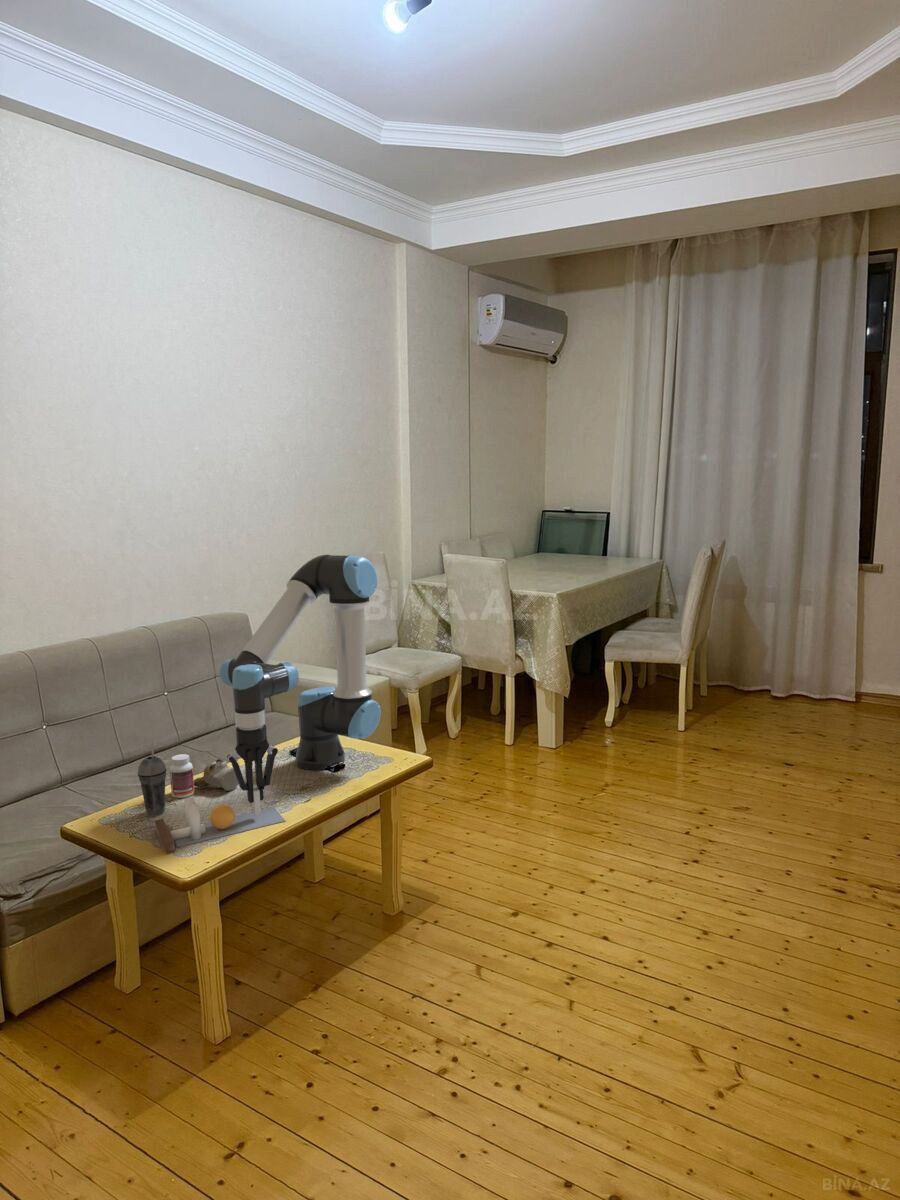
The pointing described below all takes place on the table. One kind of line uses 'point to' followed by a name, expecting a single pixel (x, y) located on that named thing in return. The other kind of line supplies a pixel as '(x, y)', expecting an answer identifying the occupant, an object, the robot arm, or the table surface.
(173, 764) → the pill bottle
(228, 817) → the ball
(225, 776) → the ceramic sculpture
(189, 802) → the back pin right
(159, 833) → the back wall
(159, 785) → the beverage cup
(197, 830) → the back pin left
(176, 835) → the front pin
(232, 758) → the robot arm
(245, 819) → the lane mat
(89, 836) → the table surface
